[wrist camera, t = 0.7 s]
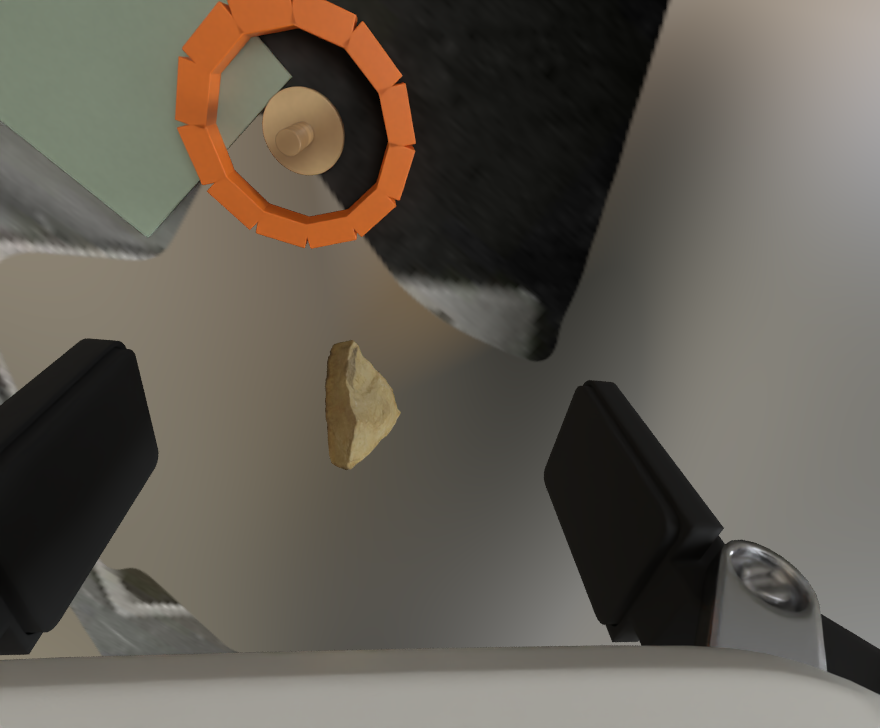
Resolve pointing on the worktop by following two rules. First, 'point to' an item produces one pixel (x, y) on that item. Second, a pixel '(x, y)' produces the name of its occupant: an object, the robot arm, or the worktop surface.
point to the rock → (355, 405)
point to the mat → (119, 94)
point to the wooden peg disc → (303, 130)
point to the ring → (198, 82)
